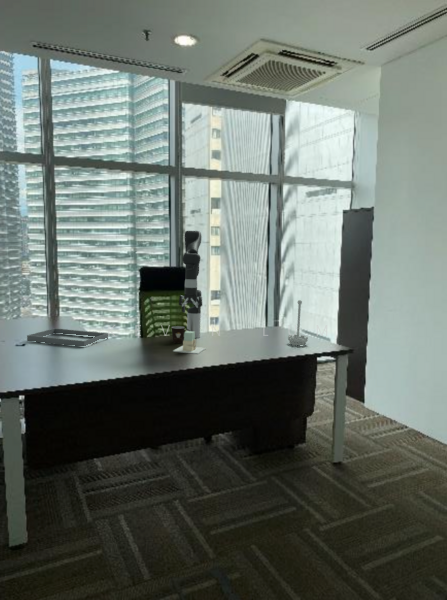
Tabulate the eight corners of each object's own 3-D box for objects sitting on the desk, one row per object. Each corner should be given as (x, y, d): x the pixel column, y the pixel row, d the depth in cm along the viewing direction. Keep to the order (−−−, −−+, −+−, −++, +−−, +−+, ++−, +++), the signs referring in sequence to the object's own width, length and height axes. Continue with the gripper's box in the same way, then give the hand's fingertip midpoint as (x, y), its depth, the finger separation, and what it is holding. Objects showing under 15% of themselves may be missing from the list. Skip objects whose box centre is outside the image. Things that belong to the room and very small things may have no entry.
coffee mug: (169, 342, 293) (169, 327, 292) (174, 340, 301) (174, 325, 300) (185, 344, 290) (185, 329, 289) (190, 341, 298) (190, 327, 297)
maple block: (186, 348, 277) (186, 338, 276) (195, 349, 275) (195, 339, 275) (182, 350, 271) (183, 340, 271) (192, 351, 270) (192, 341, 269)
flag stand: (305, 347, 293) (308, 301, 289) (286, 345, 297) (288, 300, 293) (308, 343, 305) (311, 299, 301) (289, 341, 309) (291, 298, 306)
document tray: (54, 333, 310) (54, 328, 310) (108, 339, 298) (108, 333, 298) (27, 341, 284) (27, 335, 284) (84, 347, 272) (84, 341, 272)
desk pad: (182, 346, 283) (182, 345, 283) (205, 349, 279) (205, 348, 279) (173, 351, 270) (173, 350, 270) (198, 354, 266) (198, 353, 265)
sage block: (187, 338, 276) (187, 330, 275) (194, 339, 274) (195, 331, 274) (184, 340, 271) (184, 332, 270) (191, 341, 270) (192, 333, 269)
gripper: (204, 286, 271) (203, 313, 273) (182, 285, 275) (181, 311, 277) (199, 287, 263) (199, 314, 265) (177, 286, 267) (177, 313, 270)
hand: (190, 313), depth 271 cm, fingers open, 8 cm apart
